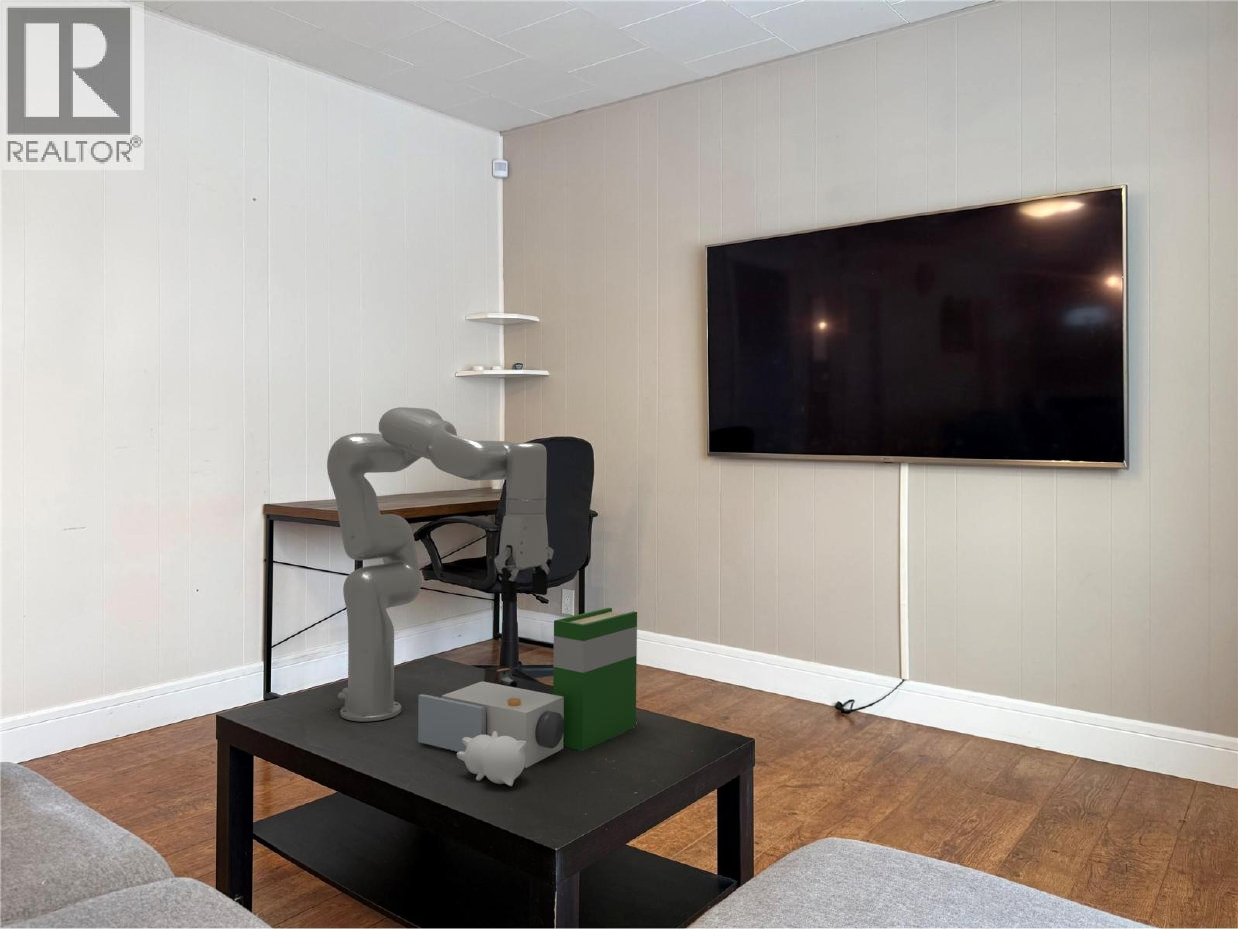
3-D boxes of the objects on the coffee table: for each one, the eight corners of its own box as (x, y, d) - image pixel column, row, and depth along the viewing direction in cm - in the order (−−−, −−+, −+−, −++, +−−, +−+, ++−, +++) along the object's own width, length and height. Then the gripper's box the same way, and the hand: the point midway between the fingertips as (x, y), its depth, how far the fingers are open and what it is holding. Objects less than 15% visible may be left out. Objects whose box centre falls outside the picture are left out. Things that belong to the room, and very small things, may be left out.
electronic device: (506, 708, 194) (506, 674, 194) (480, 699, 201) (481, 666, 201) (522, 704, 197) (522, 671, 197) (496, 696, 204) (496, 663, 204)
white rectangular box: (441, 747, 169) (441, 691, 169) (481, 730, 179) (481, 677, 179) (534, 770, 158) (535, 710, 157) (571, 750, 168) (572, 694, 168)
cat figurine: (464, 720, 156) (515, 731, 149) (500, 738, 163) (550, 750, 156) (445, 769, 152) (497, 783, 145) (483, 786, 159) (533, 800, 152)
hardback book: (607, 720, 186) (608, 607, 186) (635, 727, 182) (637, 612, 182) (552, 743, 172) (553, 620, 172) (582, 751, 168) (583, 625, 167)
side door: (418, 741, 170) (418, 695, 170) (427, 738, 172) (427, 692, 172) (483, 757, 162) (483, 709, 161) (492, 753, 164) (492, 705, 164)
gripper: (536, 504, 177) (535, 589, 177) (481, 509, 162) (479, 602, 162) (567, 506, 173) (566, 593, 173) (514, 511, 158) (512, 607, 158)
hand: (524, 597), depth 168 cm, fingers open, 9 cm apart
